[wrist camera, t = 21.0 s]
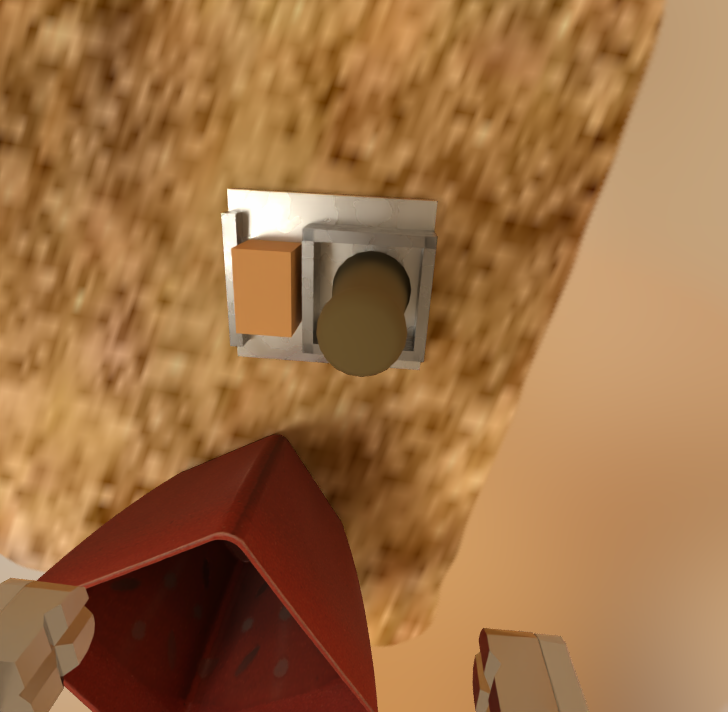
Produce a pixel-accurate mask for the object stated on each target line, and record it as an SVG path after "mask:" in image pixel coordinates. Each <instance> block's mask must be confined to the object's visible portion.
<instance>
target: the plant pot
mask: <svg viewBox="0 0 728 712" xmlns="http://www.w3.org/2000/svg"><path fill="white" fill-rule="evenodd" d="M37 581H41V582H49V583H56V584H64V585H72V586H80V587H85V588H86V591H87V594H88V597H89V599H88V601H87V602H86V603H85V605H84V606H85V607H86V608H87V609H88V610H89V611H90V612H91V613H92V614H93V616H94V621H95V628H94V635H93V638H92V641H91V644H90V646H89V649H88V651H87V653H86V654H85V656H84V658H83V659H82V661H81V662H80V664H79V665H78V666H77V667H75V668H74V669H73V670H71V671H70V672H68V673H67V674H66V675H64V686H65V687H66V688H67V689H68V690H69V691H70V692H72V693H73V694H74V695H75V696H76V697H77V698H78V699H79V700H80V701H81V702H83V704H84V705H86V706H87V707H88V708H89V709H90V710H91V711H92V712H378V707H377V697H376V687H375V676H374V668H373V661H372V655H371V647H370V640H369V633H368V627H367V621H366V615H365V609H364V604H363V599H362V594H361V590H360V585H359V581H358V577H357V572H356V568H355V565H354V561H353V557H352V553H351V550H350V547H349V543H348V540H347V537H346V534H345V531H344V528H343V525H342V523H341V521H340V519H339V518H338V516H337V515H336V513H335V512H334V510H333V509H332V507H331V506H330V504H329V503H328V501H327V500H326V498H325V496H324V495H323V493H322V492H321V490H320V489H319V487H318V486H317V484H316V483H315V481H314V480H313V478H312V477H311V475H310V474H309V472H308V471H307V469H306V467H305V466H304V464H303V463H302V461H301V460H300V458H299V457H298V455H297V454H296V452H295V451H294V449H293V448H292V446H291V445H290V443H289V441H288V440H287V439H286V438H285V437H284V436H282V435H271V436H268V437H266V438H263V439H261V440H259V441H256V442H254V443H251V444H249V445H246V446H244V447H242V448H239V449H237V450H235V451H232V452H230V453H227V454H225V455H223V456H220V457H218V458H215V459H213V460H210V461H208V462H206V463H203V464H201V465H198V466H196V467H194V468H191V469H189V470H186V471H184V472H181V473H179V474H177V475H176V476H174V477H173V478H171V479H169V480H168V481H166V482H164V483H163V484H161V485H160V486H158V487H156V488H155V489H153V490H152V491H150V492H149V493H147V494H146V495H144V496H143V497H141V498H140V499H138V500H137V501H136V502H134V503H133V504H131V505H130V506H129V507H127V508H126V509H124V510H123V511H122V512H120V513H119V514H117V515H116V516H115V517H113V518H112V519H111V520H109V521H108V522H107V523H105V524H104V525H103V526H101V527H100V528H99V529H97V530H96V531H95V532H94V533H92V534H91V535H90V536H89V537H87V538H86V539H85V540H84V541H83V542H81V543H80V544H79V545H78V546H76V547H75V548H74V549H73V550H72V551H70V552H69V553H68V554H67V555H66V556H64V557H63V558H62V559H61V560H60V561H59V562H57V563H56V564H55V565H54V566H53V567H52V568H50V569H49V570H48V571H47V572H46V573H45V574H44V575H42V576H41V577H40V578H39V579H38V580H37Z"/></svg>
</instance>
